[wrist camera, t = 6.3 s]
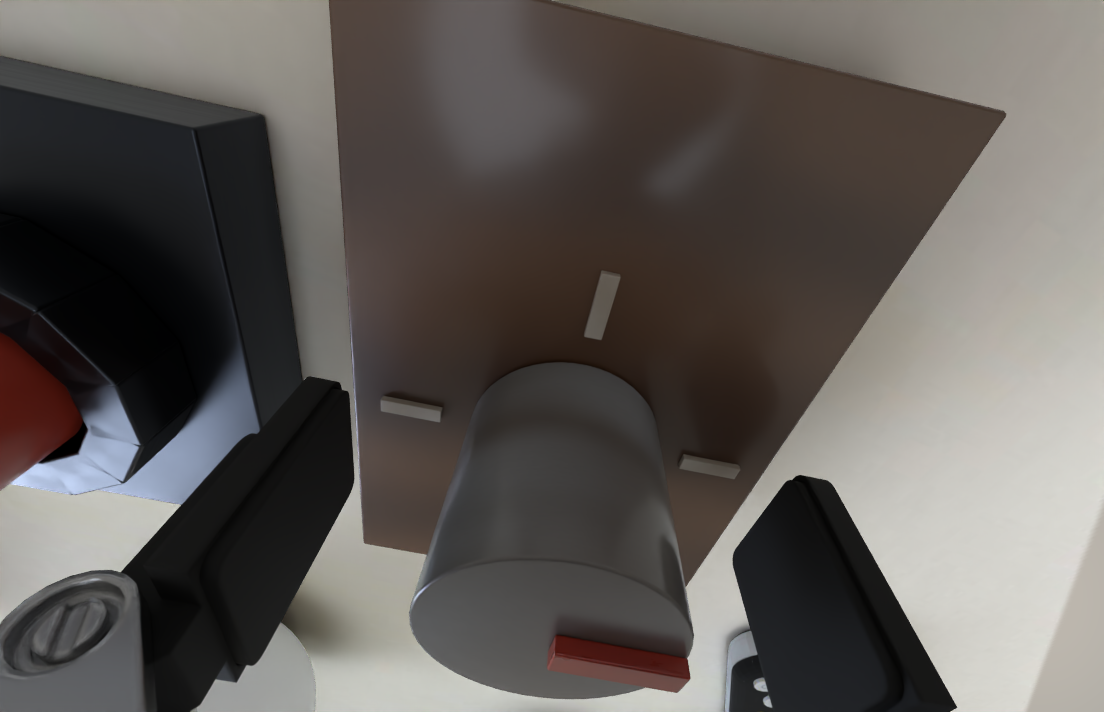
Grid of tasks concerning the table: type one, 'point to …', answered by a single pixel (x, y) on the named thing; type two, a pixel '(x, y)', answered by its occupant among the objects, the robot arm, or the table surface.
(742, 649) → the remote control
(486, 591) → the dial
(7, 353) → the push knob
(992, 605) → the table surface
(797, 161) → the dial panel
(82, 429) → the button housing
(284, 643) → the piggy bank
